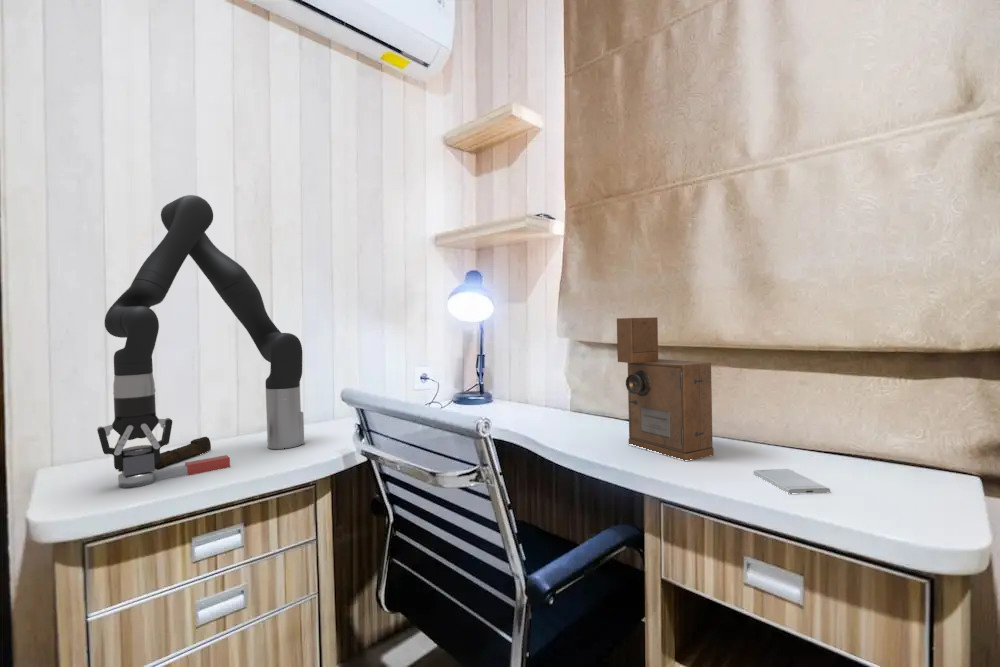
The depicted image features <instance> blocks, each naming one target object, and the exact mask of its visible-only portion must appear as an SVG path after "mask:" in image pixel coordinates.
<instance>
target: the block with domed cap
mask: <svg viewBox="0 0 1000 667" xmlns="http://www.w3.org/2000/svg"><path fill="white" fill-rule="evenodd" d="M121 455H122V462H123V471H121V473H122V474H123V476H129V475H134V474H140V473H145V472H151V471H155V464H154V453H153V446H152V445H151V444H142V445H134V446H130V447H126V448H125V447H124V448H123V449H122V452H121Z"/></svg>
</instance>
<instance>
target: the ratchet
mask: <svg viewBox="0 0 1000 667" xmlns="http://www.w3.org/2000/svg"><path fill="white" fill-rule="evenodd" d="M184 463H185V464H183V465H177V466H173V467H167V468H160V469H155V471H151V472H145V473H140V474H134V475H129V476H123V474H122V472H120V474H118V475H117V476H118V488H119V489H125V490H126V489H136V488H137V489H138V488H141V487H145V486H149V485H152V484H154V483H156V482H158V481H165V480H169V479H174V478H180V477H185V475H186V476H192V475H193V476H194V475H196V474H197V475H198V474H203V473H209V472H212V471H213V470H214V471H218V469H219V470H222V469H223V468H224V469H228V468H227V467H229V468H231V457H230V456H229V455H227V454H225V455H220V456H213V457H208V458H203V459H197V460H192V461H186V462H184ZM224 469H223V470H224Z"/></svg>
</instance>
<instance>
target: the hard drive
mask: <svg viewBox="0 0 1000 667" xmlns="http://www.w3.org/2000/svg"><path fill="white" fill-rule="evenodd" d="M753 475H754V476H755V475H756V476H755V477H757V476H758V477H757V478H759V477H760V478H762V479H763V480H762V479H761V480H762V481H764V480H765V481H764V482H766V481H767V482H769V483H771V484H772V486H773V485H774V486H773V487H775V486H776V487H775V488H777V487H778V488H779V490H780V489H781V490H780V491H782V490H783V491H782V492H784V491H785V492H784V493H786V492H788V493H790V494H789V495H793V494H792V493H815V494H828V493H827V492H830V493H831V488H829V487H827V486H825V485H823V484H821V483H819V482H817V481H815V480H813V479H810V478H808V477H806V476H804V475H803V474H800V473H798V472H796V471H794V470H791V469H790V468H780V469H779V468H777V469H776V468H775V469H774V468H773V469H755V470H754V471H753ZM760 478H759V479H760ZM767 482H766V483H767ZM769 483H768V484H769ZM771 484H770V485H771ZM778 488H777V489H778Z"/></svg>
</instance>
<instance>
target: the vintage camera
mask: <svg viewBox="0 0 1000 667" xmlns="http://www.w3.org/2000/svg"><path fill="white" fill-rule="evenodd" d="M658 320H659V319H658V317H621V318H617V317H616V340H617V341H616V345H617V346H616V347H617V348H616V349H617V350H616V351H617V352H616V353H617V363H625V364H627V376H626V379H625V387H626V390H627V394H628V395H627V396H628V399H627V401H628V402H627V404H628V436H629V437H628V445H629V444H633V445H636V446H639V447H643V448H646V449H649V450H652V451H656V452H659V453H662V454H666V455H669V456H673V457H676V458H680V459H683V460H690V459H695V460H697V459H696V458H699V459H702V458H701V457H703V458H707V457H711V456H710V455H712V456H714V454H715V453H714V452H715V451H714V446H713V410H712V409H713V405H712V404H713V398H712V396H713V394H712V362H710V361H709V362H706V361H695V360H694V361H691V360H690V361H689V360H680V359H679V360H678V359H677V360H676V359H662V358H659V336H658V334H659V332H658V331H659V328H658V327H659V326H658ZM706 456H707V457H706ZM690 461H691V460H690Z"/></svg>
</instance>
